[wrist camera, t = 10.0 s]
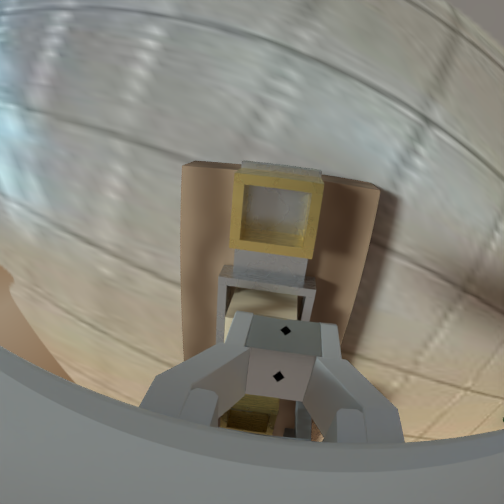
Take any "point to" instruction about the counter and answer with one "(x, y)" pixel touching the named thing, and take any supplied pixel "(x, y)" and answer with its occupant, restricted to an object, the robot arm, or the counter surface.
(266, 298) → the maple block
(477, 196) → the counter surface
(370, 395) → the robot arm
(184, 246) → the tunnel deck
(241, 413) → the sled
